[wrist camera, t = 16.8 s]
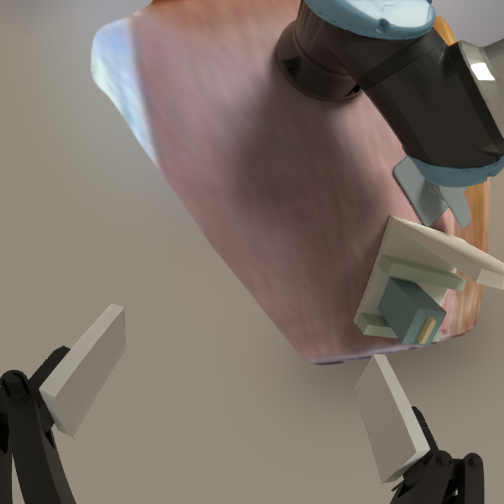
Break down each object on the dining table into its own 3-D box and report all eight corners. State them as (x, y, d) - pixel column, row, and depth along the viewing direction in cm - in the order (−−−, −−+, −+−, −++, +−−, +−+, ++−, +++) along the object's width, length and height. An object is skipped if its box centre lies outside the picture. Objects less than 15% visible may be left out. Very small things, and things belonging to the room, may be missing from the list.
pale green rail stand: (389, 214, 42) (482, 265, 20) (462, 238, 43) (546, 288, 20) (353, 320, 48) (399, 416, 26) (425, 329, 49) (481, 404, 27)
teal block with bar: (389, 277, 44) (422, 312, 32) (415, 282, 44) (450, 316, 33) (377, 307, 46) (404, 348, 34) (403, 311, 46) (433, 349, 34)
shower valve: (446, 247, 38) (405, 171, 35) (430, 238, 43) (389, 169, 40) (487, 203, 35) (452, 128, 32) (470, 198, 41) (435, 130, 37)
